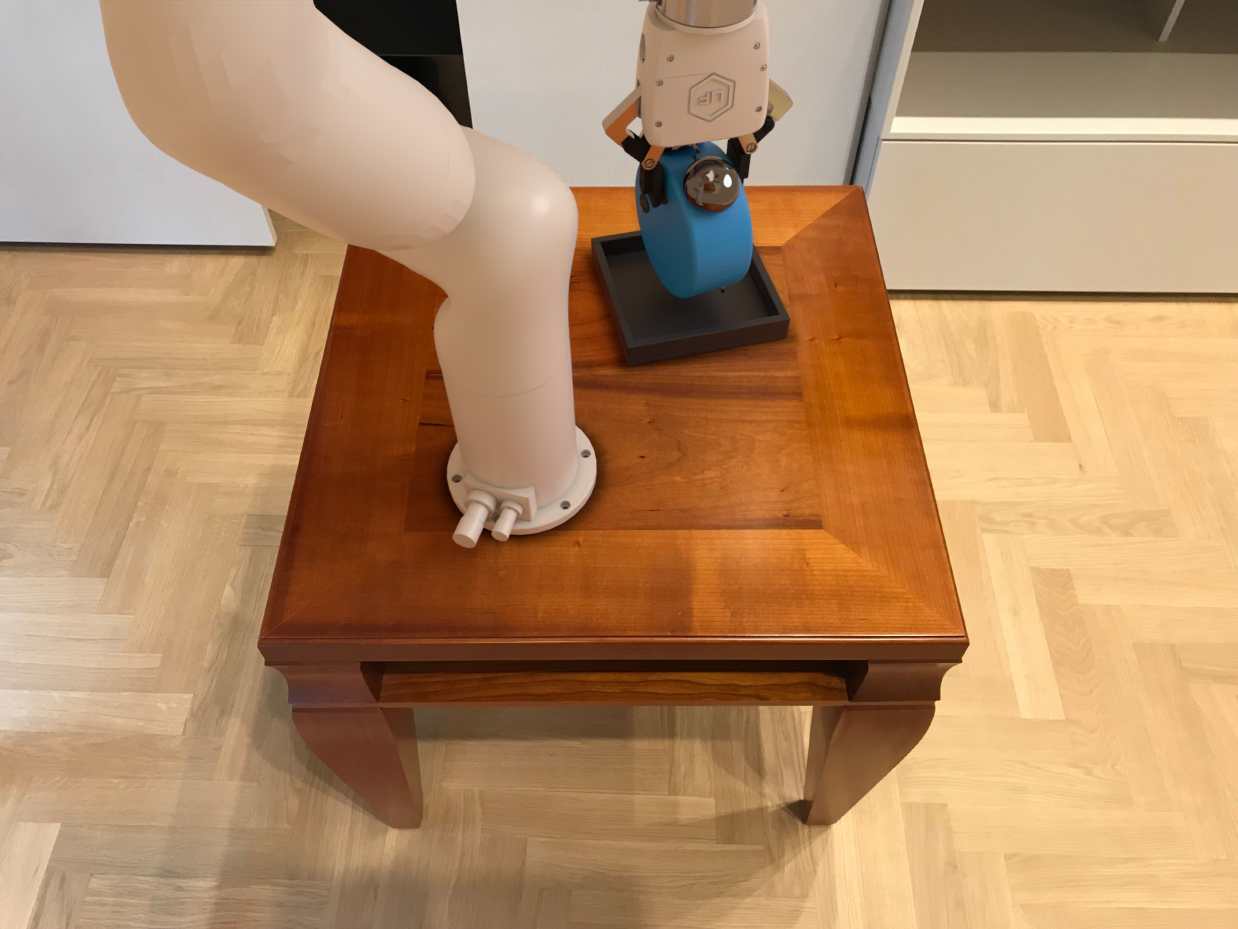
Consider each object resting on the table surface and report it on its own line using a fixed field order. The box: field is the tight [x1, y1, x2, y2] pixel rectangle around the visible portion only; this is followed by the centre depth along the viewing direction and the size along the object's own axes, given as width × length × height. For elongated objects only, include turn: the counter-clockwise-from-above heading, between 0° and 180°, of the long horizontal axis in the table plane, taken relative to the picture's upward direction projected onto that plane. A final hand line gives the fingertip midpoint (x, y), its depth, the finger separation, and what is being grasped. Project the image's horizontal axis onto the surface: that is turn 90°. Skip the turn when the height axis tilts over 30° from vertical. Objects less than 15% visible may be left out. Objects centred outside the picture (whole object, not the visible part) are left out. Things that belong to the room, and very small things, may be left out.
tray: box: [590, 229, 791, 368], centre depth 92 cm, size 16×16×3 cm
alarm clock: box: [634, 141, 754, 298], centre depth 85 cm, size 13×6×15 cm, turn 23°
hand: (693, 189), depth 83 cm, fingers closed on alarm clock, 6 cm apart
